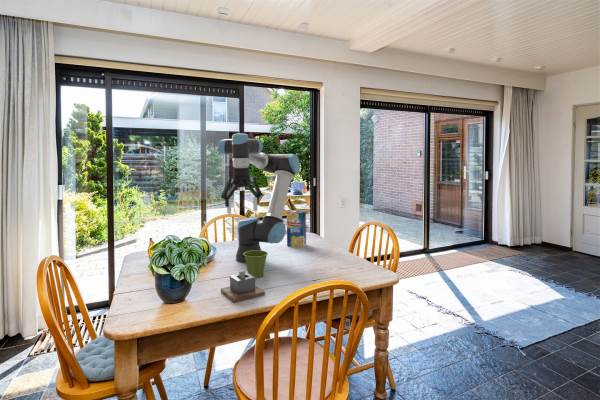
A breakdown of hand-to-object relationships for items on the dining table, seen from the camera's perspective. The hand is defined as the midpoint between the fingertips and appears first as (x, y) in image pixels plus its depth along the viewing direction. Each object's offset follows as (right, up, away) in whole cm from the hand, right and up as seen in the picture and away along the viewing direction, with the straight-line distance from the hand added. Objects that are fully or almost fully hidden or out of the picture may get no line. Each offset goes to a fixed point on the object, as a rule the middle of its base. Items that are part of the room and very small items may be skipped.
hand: (242, 212), depth 171 cm
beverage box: (+25, -24, +61) cm, 71 cm away
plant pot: (+6, -31, +4) cm, 32 cm away
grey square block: (+3, -33, -18) cm, 37 cm away
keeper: (+3, -34, -18) cm, 39 cm away
